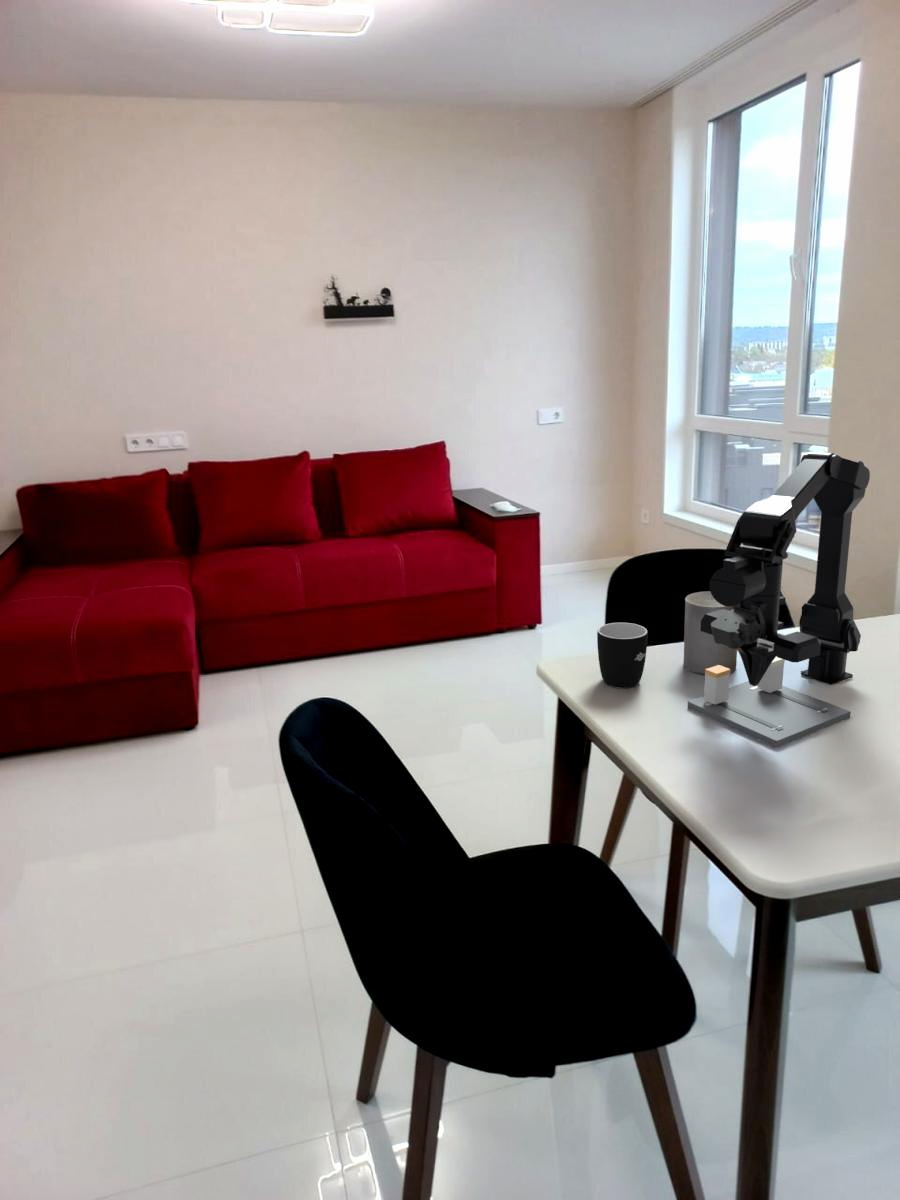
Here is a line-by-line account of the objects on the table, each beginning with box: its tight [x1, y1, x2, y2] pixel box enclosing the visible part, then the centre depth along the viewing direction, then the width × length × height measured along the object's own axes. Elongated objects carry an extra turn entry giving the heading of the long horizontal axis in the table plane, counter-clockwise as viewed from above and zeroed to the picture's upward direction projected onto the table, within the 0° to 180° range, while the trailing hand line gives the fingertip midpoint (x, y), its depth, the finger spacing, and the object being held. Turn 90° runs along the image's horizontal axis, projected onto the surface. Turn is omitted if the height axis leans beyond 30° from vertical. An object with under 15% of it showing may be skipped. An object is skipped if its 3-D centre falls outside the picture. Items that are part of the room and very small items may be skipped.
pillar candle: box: [683, 590, 738, 675], centre depth 154 cm, size 10×10×15 cm
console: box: [687, 680, 852, 749], centre depth 136 cm, size 18×18×1 cm
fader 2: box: [758, 656, 786, 693], centre depth 141 cm, size 3×2×6 cm
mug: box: [596, 622, 649, 689], centre depth 151 cm, size 12×9×10 cm
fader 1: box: [703, 665, 732, 705], centre depth 137 cm, size 3×2×6 cm
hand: (753, 684), depth 130 cm, fingers closed
